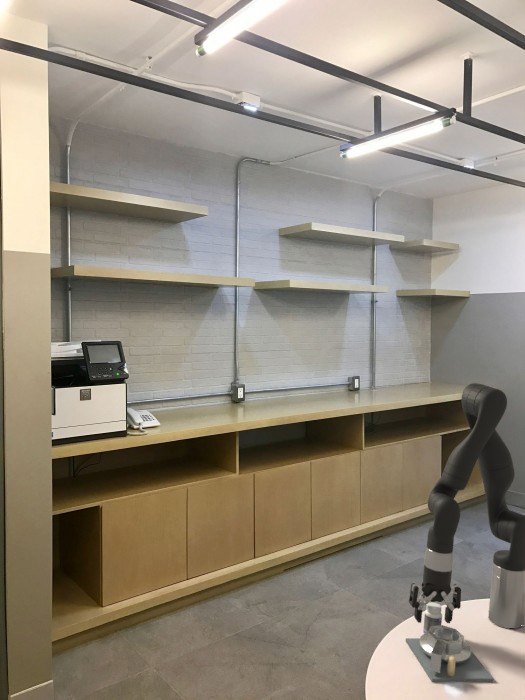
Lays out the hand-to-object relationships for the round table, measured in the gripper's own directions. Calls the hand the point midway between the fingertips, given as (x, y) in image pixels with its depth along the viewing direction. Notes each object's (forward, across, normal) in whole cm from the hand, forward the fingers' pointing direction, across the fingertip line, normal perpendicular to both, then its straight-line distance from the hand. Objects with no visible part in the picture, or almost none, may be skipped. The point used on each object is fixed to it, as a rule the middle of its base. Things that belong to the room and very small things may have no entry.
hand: (432, 621), depth 162 cm
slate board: (+4, -1, -12) cm, 13 cm away
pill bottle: (+4, 0, +1) cm, 4 cm away
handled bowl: (+2, -3, -12) cm, 13 cm away
